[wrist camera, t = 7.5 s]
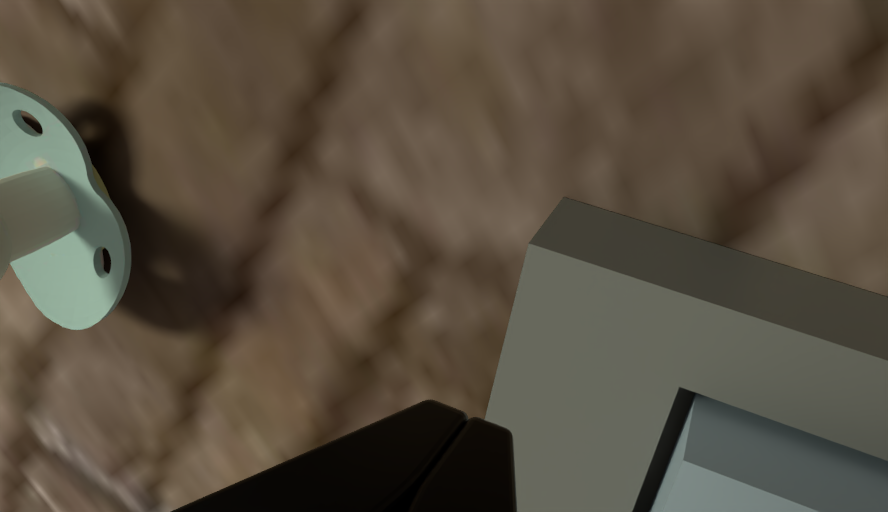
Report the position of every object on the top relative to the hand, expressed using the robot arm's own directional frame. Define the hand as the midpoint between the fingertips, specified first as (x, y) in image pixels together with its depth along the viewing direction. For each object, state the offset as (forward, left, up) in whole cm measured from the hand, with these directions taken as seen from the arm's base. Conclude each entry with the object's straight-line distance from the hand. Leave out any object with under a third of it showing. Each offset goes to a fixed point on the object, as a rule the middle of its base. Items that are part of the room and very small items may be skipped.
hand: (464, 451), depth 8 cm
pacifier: (+16, +7, -12) cm, 22 cm away
